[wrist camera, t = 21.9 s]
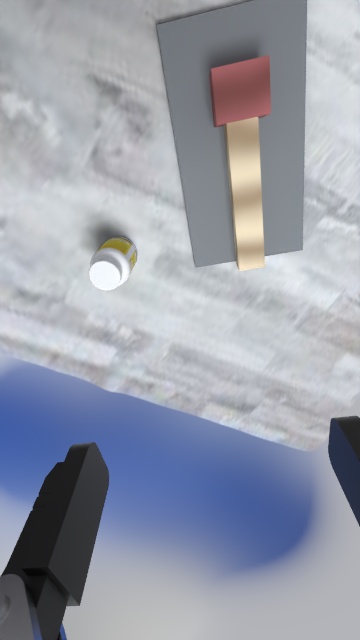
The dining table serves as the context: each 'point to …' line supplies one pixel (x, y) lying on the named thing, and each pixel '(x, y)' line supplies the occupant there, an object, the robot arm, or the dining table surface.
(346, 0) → the dining table surface
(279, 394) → the dining table surface
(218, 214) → the mat
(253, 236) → the bar
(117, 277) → the supplement bottle
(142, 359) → the dining table surface
